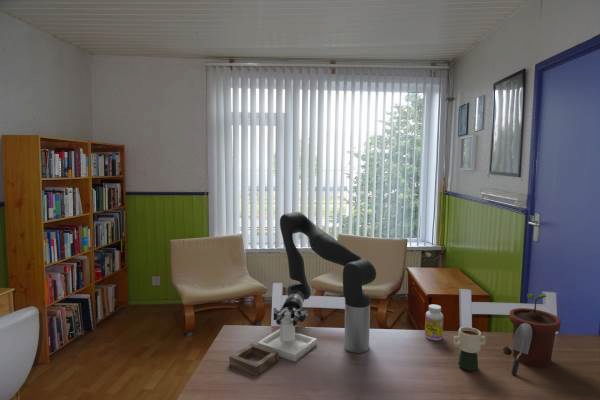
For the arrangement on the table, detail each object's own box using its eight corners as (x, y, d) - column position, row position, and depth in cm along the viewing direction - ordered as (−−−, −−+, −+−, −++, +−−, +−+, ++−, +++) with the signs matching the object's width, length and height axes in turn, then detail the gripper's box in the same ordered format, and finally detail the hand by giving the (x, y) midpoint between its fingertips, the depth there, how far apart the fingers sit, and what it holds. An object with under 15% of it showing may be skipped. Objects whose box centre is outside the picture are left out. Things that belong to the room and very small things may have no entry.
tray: (280, 334, 162) (280, 328, 161) (316, 344, 152) (316, 338, 152) (257, 348, 149) (257, 342, 149) (295, 361, 140) (295, 354, 140)
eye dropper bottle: (294, 343, 148) (294, 312, 147) (279, 342, 149) (279, 311, 147) (295, 337, 153) (295, 307, 151) (280, 337, 153) (280, 307, 152)
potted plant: (572, 372, 134) (578, 300, 132) (513, 376, 132) (518, 302, 129) (535, 347, 152) (540, 283, 149) (482, 350, 149) (486, 285, 146)
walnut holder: (251, 351, 147) (251, 343, 147) (278, 360, 141) (278, 352, 140) (229, 365, 137) (229, 356, 137) (256, 375, 131) (256, 366, 130)
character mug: (479, 362, 140) (481, 326, 139) (488, 372, 133) (491, 335, 132) (448, 362, 140) (449, 326, 139) (456, 373, 133) (458, 335, 132)
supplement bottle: (421, 337, 160) (422, 306, 158) (430, 332, 164) (431, 302, 163) (437, 342, 155) (438, 310, 154) (445, 337, 159) (446, 306, 158)
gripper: (276, 295, 164) (267, 312, 148) (310, 297, 162) (305, 314, 146) (276, 313, 165) (267, 331, 149) (310, 315, 163) (305, 334, 147)
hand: (286, 322), depth 147 cm, fingers closed on eye dropper bottle, 5 cm apart
